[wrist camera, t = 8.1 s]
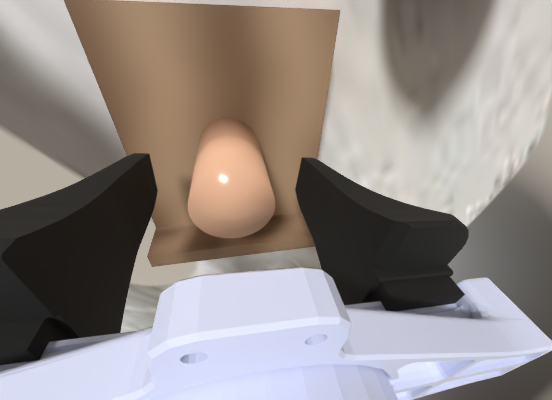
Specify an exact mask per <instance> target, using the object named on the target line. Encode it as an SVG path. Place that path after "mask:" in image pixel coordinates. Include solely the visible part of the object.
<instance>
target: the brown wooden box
mask: <svg viewBox="0 0 552 400" xmlns="http://www.w3.org/2000/svg"><path fill="white" fill-rule="evenodd" d="M64 2H65V4H66V7H67V9H68V12H69V14H70V16H71V19H72V21H73V24H74V26H75V29H76V31H77V34H78V36H79V39H80V41H81V44H82V46H83V48H84V51H85V53H86V56H87V58H88V61H89V63H90V66H91V68H92V71H93V73H94V76H95V78H96V81H97V83H98V85H99V88H100V90H101V93H102V95H103V98H104V100H105V103H106V105H107V108H108V110H109V113H110V115H111V117H112V120H113V122H114V125H115V127H116V130H117V132H118V135H119V137H120V140H121V142H122V145H123V147H124V149H125V152H126V154H127V156H129V155H131V154H133V153H149V154H150V158H151V163H152V167H153V172H154V176H155V181H156V185H157V189H158V192H157V198H156V203H155V207H154V210H153V213H152V218H153V221H154V223H155V226H156V230H155V234H154V237H153V240H152V243H151V246H150V250H149V253H148V256H147V257H148V259H149V261H150V263H151V265H152V267H154V266H162V265H169V264H178V263H186V262H194V261H202V260H210V259H218V258H225V257H233V256H241V255H249V254H257V253H265V252H273V251H281V250H289V249H297V248H305V247H313V246H315V243H314V241H313V238H312V236H311V233H310V231H309V228H308V226H307V224H306V221H305V219H304V217H303V214H302V212H301V209H300V207H299V204H298V200H297V196H296V192H295V188H296V183H297V178H298V173H299V168H300V164H301V159H302V157H306V158H315V159H317V158H318V152H319V145H320V139H321V132H322V126H323V119H324V113H325V106H326V100H327V93H328V87H329V80H330V74H331V67H332V61H333V54H334V48H335V41H336V35H337V28H338V22H339V15H340V10H326V9H303V8H279V7H256V6H232V5H209V4H186V3H162V2H139V1H115V0H64ZM226 118H230V119H236V120H239V121H242V122H243V123H245V124H247V125H248V126H249V127H250V128H251V129H252V130H253V131H254V133H255V134H256V136H257V139H258V142H259V146H260V149H261V153H262V156H263V160H264V163H265V166H266V170H267V173H268V177H269V180H270V184H271V187H272V190H273V194H274V197H275V210H274V213H273V216H272V218H271V219H270V221H269V222H268V223H267V224H266V225H265V226H264V227H263V228H262V229H260V230H259V231H257V232H255V233H253V234H251V235H248V236H245V237H240V238H220V237H216V236H212V235H210V234H207V233H205V232H204V231H202V230H200V229H199V228H198V227H197V226H196V225H195V224H194V223H193V221H192V220H191V218H190V216H189V213H188V199H189V193H190V188H191V182H192V177H193V171H194V166H195V160H196V155H197V149H198V144H199V139H200V136H201V133H202V132H203V130H204V129H205V128H206V127H207V126H208V125H209V124H210V123H212V122H214V121H216V120H219V119H226Z"/></svg>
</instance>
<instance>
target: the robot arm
mask: <svg viewBox="0 0 552 400" xmlns="http://www.w3.org/2000/svg"><path fill="white" fill-rule="evenodd" d="M157 192H158V189H157V185H156V181H155V176H154V172H153V167H152V163H151V158H150V154H149V153H133V154H131V155H129V156H127V157H125V158H123V159H121V160H119V161H117V162H116V163H114V164H112V165H110V166H108V167H107V168H105V169H103V170H101V171H99V172H97V173H95V174H93V175H91V176H89V177H87V178H85V179H83V180H81V181H79V182H77V183H75V184H73V185H70V186H68V187H66V188H64V189H61V190H58V191H56V192H53V193H51V194H48V195H45V196H42V197H39V198H36V199H33V200H30V201H27V202H24V203H21V204H18V205H15V206H12V207H8V208H5V209H1V210H0V400H413V399H416V398H419V397H423V396H426V395H430V394H433V393H436V392H440V391H443V390H447V389H450V388H454V387H458V386H461V385H465V384H468V383H472V382H476V381H480V380H484V379H488V378H493V377H497V376H500V375H503V374H505V373H507V372H509V371H511V370H513V369H515V368H517V367H519V366H521V365H523V364H525V363H527V362H529V361H531V360H533V359H536V358H538V357H540V356H542V355H544V354H546V353H548V352H550V351H552V341H551V340H550V339H549V338H548V337H547V336H546V335H545V334H544V333H543V332H542V331H541V330H540V329H539V328H538V327H537V326H536V325H535V324H534V323H533V322H532V321H531V320H530V319H529V318H528V317H527V316H526V315H525V314H524V313H523V312H522V311H521V310H520V309H519V308H518V307H517V306H516V305H515V304H514V303H512V301H511V300H510V299H509V298H507V296H506V295H505V294H503V292H501V291H500V290H499V289H498V288H497V287H496V286H495V285H494V284H493V283H492V282H491V281H490V280H489V279H488V278H475V279H466V280H462V281H459V282H457V283H455V282H454V281H453V280H452V279H451V278H450V276H451V275H452V274H453V271H452V270H451V268H449V266H448V263H449V262H450V261H451V260H452V259H453V258H454V257H455V256H456V254H457V253H458V252H459V251H460V250H461V249H462V247H463V246H464V245H465V244H466V241H467V239H468V229H467V227H466V226H465V225H464V224H463V223H462V222H460V221H459V220H458V219H457V218H456V217H455V216H453V215H451V214H447V213H442V212H438V211H433V210H429V209H424V208H420V207H417V206H413V205H410V204H406V203H403V202H400V201H397V200H394V199H391V198H388V197H386V196H383V195H381V194H378V193H376V192H373V191H371V190H369V189H367V188H365V187H363V186H361V185H359V184H357V183H355V182H353V181H351V180H350V179H348V178H346V177H344V176H343V175H341V174H339V173H338V172H336V171H335V170H333V169H332V168H330V167H328V166H327V165H325V164H324V163H322V162H320V161H319V160H317V159H315V158H306V157H302V159H301V164H300V168H299V173H298V178H297V183H296V188H295V192H296V196H297V200H298V204H299V207H300V209H301V212H302V214H303V217H304V219H305V221H306V224H307V226H308V228H309V231H310V233H311V236H312V238H313V241H314V243H315V247H316V250H317V253H318V257H319V260H320V264H321V268H322V270H321V269H316V268H306V267H295V268H282V269H270V270H257V271H245V272H232V273H220V274H207V275H200V276H196V277H191V278H187V279H183V280H180V281H178V282H176V283H175V284H173V285H172V286H170V287H169V288H168V289H166V290H165V291H163V292H162V293H161V294H160V297H159V301H158V306H157V310H156V315H155V319H154V324H153V327H150V328H146V329H143V330H140V331H133V332H125V333H120V331H121V325H122V319H123V314H124V308H125V303H126V298H127V293H128V289H129V284H130V280H131V275H132V271H133V267H134V263H135V259H136V255H137V252H138V249H139V246H140V244H141V241H142V239H143V236H144V234H145V231H146V228H147V226H148V223H149V221H150V218H151V216H152V213H153V210H154V207H155V203H156V198H157Z"/></svg>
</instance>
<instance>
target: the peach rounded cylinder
mask: <svg viewBox="0 0 552 400" xmlns="http://www.w3.org/2000/svg"><path fill="white" fill-rule="evenodd" d="M274 210H275V197H274V194H273V190H272V187H271V184H270V180H269V177H268V173H267V170H266V166H265V163H264V160H263V156H262V153H261V149H260V146H259V142H258V139H257V136H256V134H255V133H254V131H253V130H252V129H251V128H250V127H249V126H248V125H247V124H245V123H243V122H242V121H239V120H236V119H230V118H226V119H219V120H216V121H214V122H212V123H210V124H209V125H208V126H207V127H206V128H205V129H204V130H203V132H202V133H201V136H200V139H199V144H198V149H197V155H196V160H195V166H194V171H193V177H192V182H191V188H190V193H189V199H188V213H189V216H190V218H191V220H192V221H193V223H194V224H195V225H196V226H197V227H198V228H199V229H200V230H202V231H204V232H205V233H207V234H210V235H212V236H216V237H220V238H240V237H245V236H248V235H251V234H253V233H255V232H257V231H259V230H260V229H262V228H263V227H264V226H265V225H266V224H267V223H268V222H269V221H270V219H271V218H272V216H273V213H274Z"/></svg>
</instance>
